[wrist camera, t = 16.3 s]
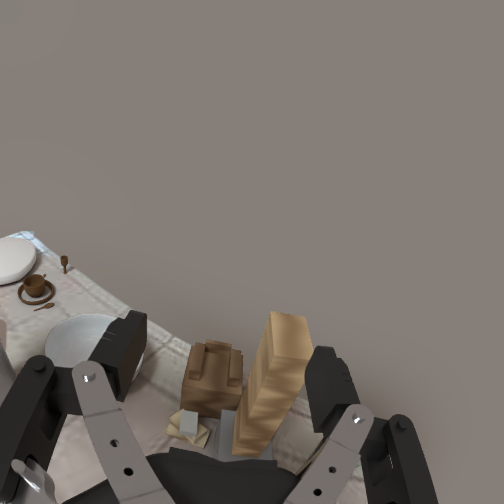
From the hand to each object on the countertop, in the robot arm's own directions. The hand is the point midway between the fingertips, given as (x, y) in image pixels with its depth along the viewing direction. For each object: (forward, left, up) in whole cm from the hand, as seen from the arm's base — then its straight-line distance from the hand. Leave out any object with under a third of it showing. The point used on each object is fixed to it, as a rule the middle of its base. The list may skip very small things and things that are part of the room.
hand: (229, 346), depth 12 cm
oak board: (+7, +12, -30) cm, 33 cm away
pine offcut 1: (-2, +16, -37) cm, 40 cm away
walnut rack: (+1, +25, -38) cm, 46 cm away
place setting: (-50, +45, -39) cm, 78 cm away
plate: (-74, +48, -38) cm, 96 cm away
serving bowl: (-23, +25, -38) cm, 51 cm away
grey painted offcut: (-2, +15, -35) cm, 38 cm away
